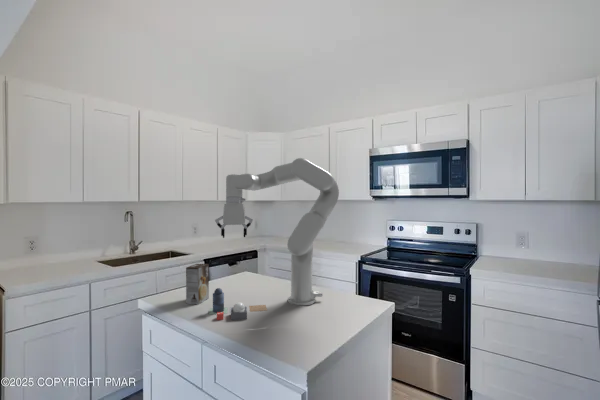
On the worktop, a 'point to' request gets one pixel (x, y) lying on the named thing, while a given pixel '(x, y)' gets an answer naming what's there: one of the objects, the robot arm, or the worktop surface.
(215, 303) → the pawn
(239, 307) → the popper dome
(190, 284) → the coffee box
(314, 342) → the worktop surface
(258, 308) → the game board
